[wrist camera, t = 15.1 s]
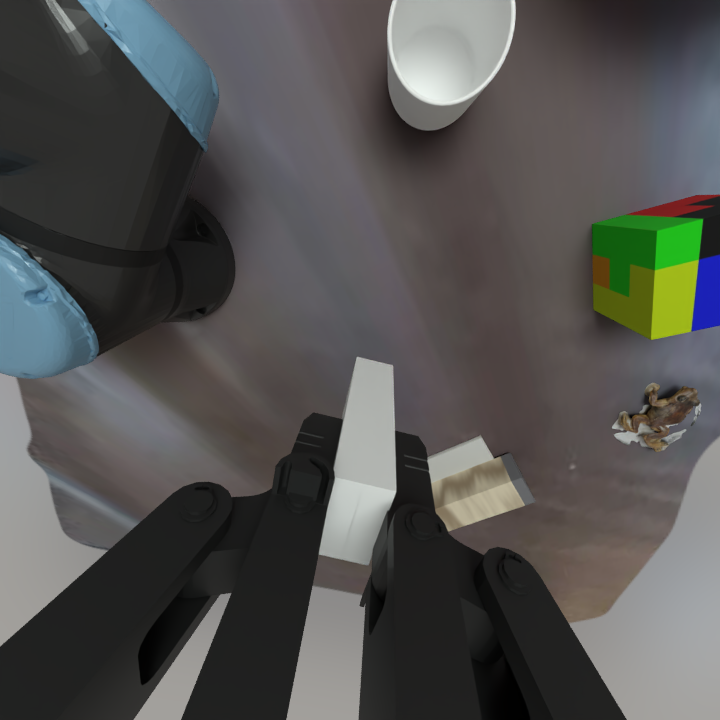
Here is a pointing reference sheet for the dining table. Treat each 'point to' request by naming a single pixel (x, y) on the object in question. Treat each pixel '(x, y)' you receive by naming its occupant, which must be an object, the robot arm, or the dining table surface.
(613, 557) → the dining table surface
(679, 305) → the puzzle toy
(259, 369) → the dining table surface
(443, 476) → the grey mat
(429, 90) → the mug
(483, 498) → the birch block
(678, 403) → the frog figurine
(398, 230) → the dining table surface
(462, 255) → the dining table surface
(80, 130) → the robot arm
